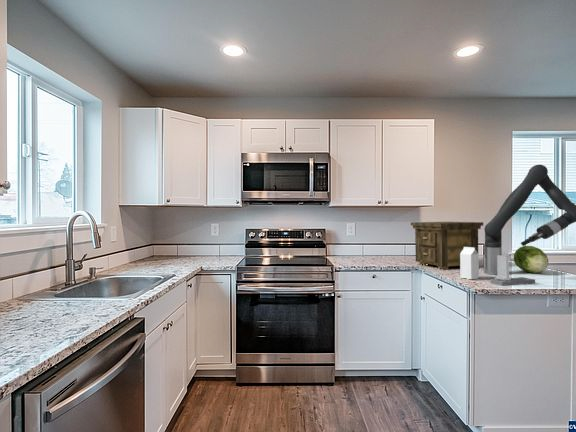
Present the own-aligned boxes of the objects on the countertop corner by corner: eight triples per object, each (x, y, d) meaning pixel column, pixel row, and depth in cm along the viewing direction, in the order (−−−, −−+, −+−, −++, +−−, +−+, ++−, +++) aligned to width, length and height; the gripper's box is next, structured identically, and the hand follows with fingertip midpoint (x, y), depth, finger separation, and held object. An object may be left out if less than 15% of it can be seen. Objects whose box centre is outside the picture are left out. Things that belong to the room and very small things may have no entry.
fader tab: (504, 280, 186) (504, 256, 186) (495, 278, 192) (495, 255, 192) (510, 280, 187) (510, 256, 187) (501, 278, 193) (501, 254, 192)
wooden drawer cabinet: (483, 268, 242) (483, 222, 242) (441, 271, 233) (440, 223, 233) (449, 261, 276) (448, 221, 276) (411, 264, 267) (410, 222, 267)
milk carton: (471, 280, 200) (470, 247, 200) (460, 278, 206) (459, 247, 206) (478, 279, 203) (478, 247, 203) (467, 277, 210) (467, 246, 210)
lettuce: (524, 275, 213) (532, 249, 210) (506, 264, 236) (513, 240, 233) (553, 281, 211) (562, 255, 208) (532, 269, 234) (540, 245, 231)
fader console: (502, 285, 184) (502, 281, 184) (490, 282, 192) (490, 279, 192) (535, 283, 189) (535, 279, 189) (522, 280, 197) (522, 276, 197)
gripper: (538, 227, 207) (513, 241, 207) (550, 221, 194) (522, 236, 195) (547, 237, 204) (521, 251, 205) (559, 232, 192) (532, 247, 192)
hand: (522, 244), depth 200 cm, fingers closed
